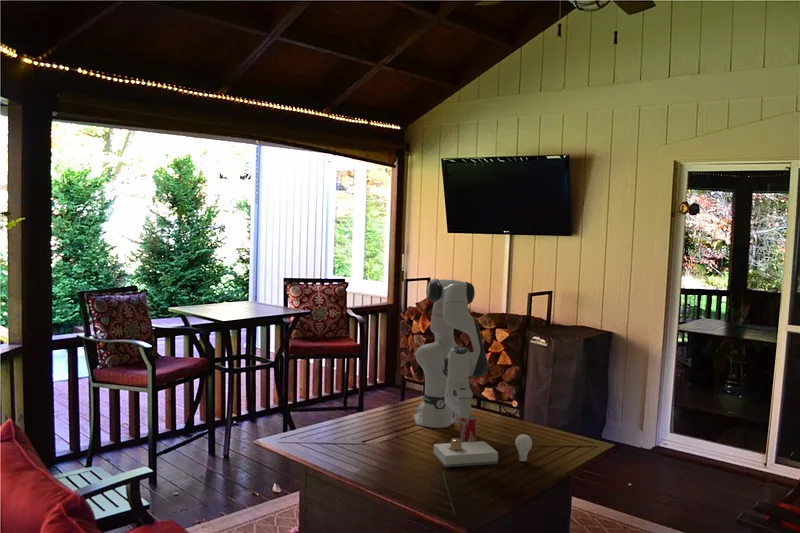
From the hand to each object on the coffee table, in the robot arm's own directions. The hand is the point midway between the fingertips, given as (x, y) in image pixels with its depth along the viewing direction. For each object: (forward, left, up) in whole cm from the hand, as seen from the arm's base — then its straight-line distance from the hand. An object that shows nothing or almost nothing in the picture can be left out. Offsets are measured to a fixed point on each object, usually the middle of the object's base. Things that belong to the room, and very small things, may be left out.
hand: (455, 422), depth 251 cm
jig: (0, +4, -15) cm, 16 cm away
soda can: (-17, +12, -15) cm, 26 cm away
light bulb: (+7, +26, -15) cm, 31 cm away
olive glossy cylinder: (0, 0, -14) cm, 14 cm away
